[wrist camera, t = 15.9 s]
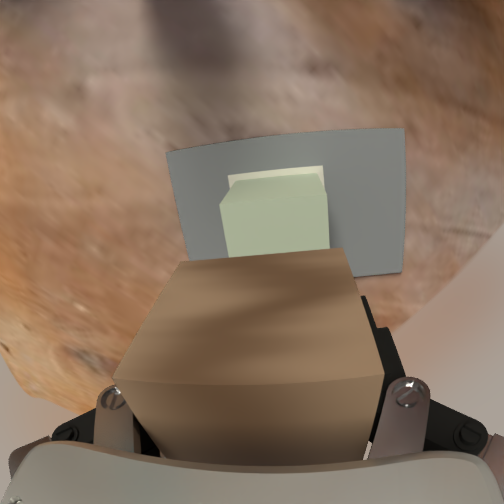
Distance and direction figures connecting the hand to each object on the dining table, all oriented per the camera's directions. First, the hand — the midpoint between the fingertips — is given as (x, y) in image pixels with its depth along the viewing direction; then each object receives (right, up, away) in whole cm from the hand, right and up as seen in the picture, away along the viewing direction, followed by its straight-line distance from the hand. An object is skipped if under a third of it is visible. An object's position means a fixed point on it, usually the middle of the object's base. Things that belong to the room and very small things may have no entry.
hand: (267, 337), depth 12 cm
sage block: (+2, +6, +12) cm, 14 cm away
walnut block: (0, 0, +1) cm, 1 cm away
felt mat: (+3, +6, +12) cm, 14 cm away
